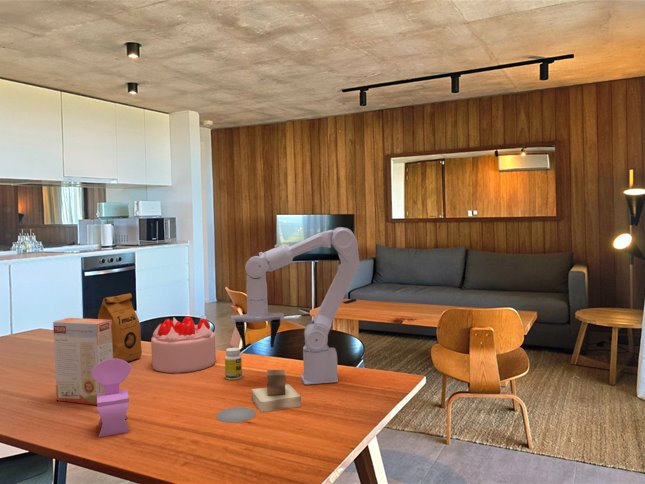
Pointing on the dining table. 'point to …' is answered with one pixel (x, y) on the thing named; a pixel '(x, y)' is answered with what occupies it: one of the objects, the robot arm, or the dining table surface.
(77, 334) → the cracker box
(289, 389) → the maple block
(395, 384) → the dining table surface
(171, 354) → the cake
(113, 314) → the coffee package
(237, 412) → the felt coaster
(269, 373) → the walnut block
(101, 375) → the toy chair
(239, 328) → the robot arm
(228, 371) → the supplement bottle
